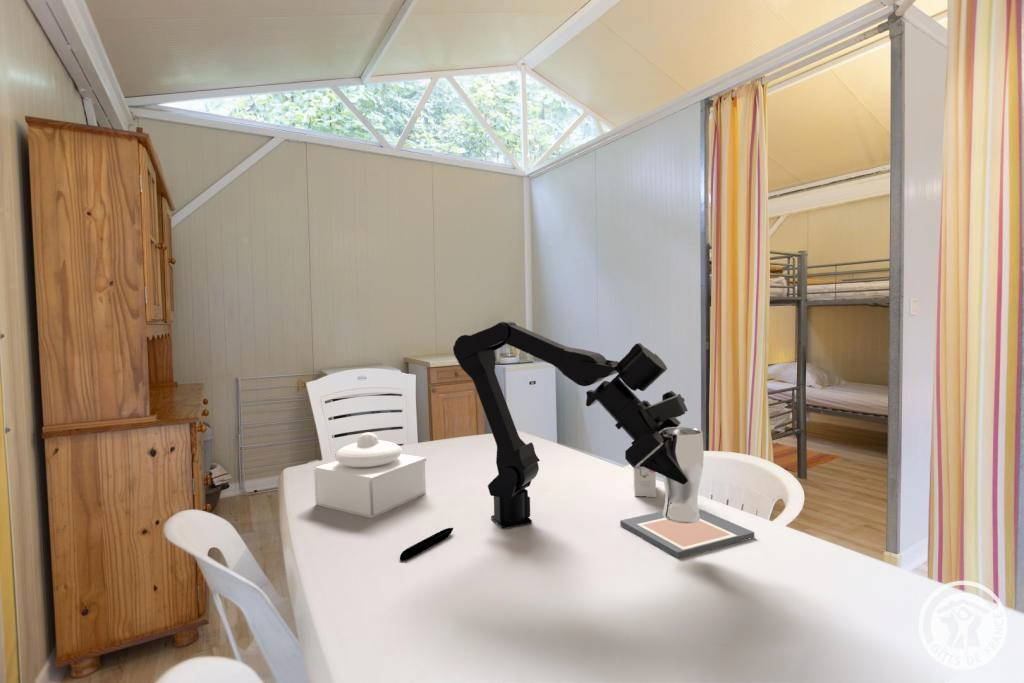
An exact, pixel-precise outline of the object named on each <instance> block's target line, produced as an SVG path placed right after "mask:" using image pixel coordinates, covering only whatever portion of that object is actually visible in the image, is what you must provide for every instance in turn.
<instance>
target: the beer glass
mask: <svg viewBox="0 0 1024 683" xmlns="http://www.w3.org/2000/svg"><path fill="white" fill-rule="evenodd" d="M662 438H663V440H664V441H663V442H662V443H663V444H664V443H665V442H666V441H667V440H669V453H670V455H671V456H672V458H673V459H674V460H675V462H676V463H677V465H678V466H679V467H680V469H681V470H682V472H683V473H684V474H685V476H686V477H687V479H688V482H686V483H685V484H681V483H679V482H676V481H674V480H672V479H670V478H668V477H666V476H664V475H662V478H663V484H664V491H665V492H664V493H665V494H664V495H665V498H664V504H663V510H662V511H663V516H664V518H666V519H667V520H669V521H672V522H676V523H684V524H689V523H695V522H698V521H699V519H700V515H699V509H700V508H699V503H698V498H699V497H698V496H699V490H700V489H699V488H700V485H701V484H700V483H701V479H702V475H703V470H704V469H703V468H704V467H703V466H704V438H703V431H702V430H700V429H697V428H692V427H686V426H685V427H683V426H682V427H681V426H677V427H669V428H664V429H663V433H662ZM698 508H699V509H698Z"/></svg>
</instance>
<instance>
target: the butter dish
mask: <svg viewBox="0 0 1024 683" xmlns="http://www.w3.org/2000/svg"><path fill="white" fill-rule="evenodd" d="M334 458H335V461H332V462H329V463H324V464H322V465H319V466H315V469H314V470H313V477H314V502H315V505H316V506H320V507H324V508H328V509H332V510H337V511H340V512H344V513H349V514H353V515H357V516H361V517H367V518H370V519H373V518H376V517H379V516H380V515H382V514H383V513H386V512H389V511H391V510H392V509H395V508H397V507H399V506H401V505H403V504H406V503H408V502H410V501H412V500H414V499H416V498H419V497H421V496H424V495H425V494H427V487H426V486H427V484H426V462H427V457H422V456H417V455H410V454H403V449H402V447H401V446H400V445H399V444H397V443H395V442H392V441H387V440H379V437H378V436H377V435H376V434H374V432H368V431H367V432H363V433H362V434H360V436H359V437H358V438H357V441H356V442H353V443H350V444H347V445H344V446H343V447H341V448H340V449H338V450H337V452H336V453H335V454H334Z"/></svg>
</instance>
